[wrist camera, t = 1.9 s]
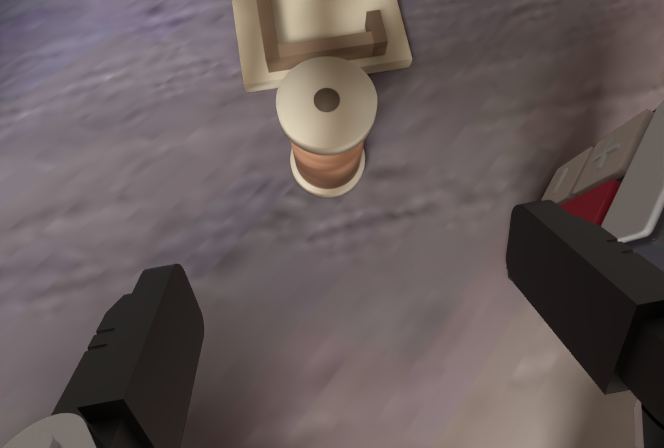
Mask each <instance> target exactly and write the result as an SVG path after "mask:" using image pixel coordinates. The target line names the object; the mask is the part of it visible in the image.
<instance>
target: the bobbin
mask: <svg viewBox="0 0 664 448" xmlns="http://www.w3.org/2000/svg"><path fill="white" fill-rule="evenodd" d="M276 108H277V113H278V117H279V121H280V124H281V127H282V129H283V131H284V133H285V135H286V136H287V137H288V138H289V140H290V141H291V145H292V150H291V156H290V162H291V168H292V172H293V175H294V178H295V180H296V181H297V183H298V184H299V186H300V187H301V188H302V189H303V190H305V191H306V192H308V193H309V194H311V195H313V196H316V197H320V198H336V197H340V196H342V195H345V194H346V193H348V192H350V191H351V190H352V189H353V188H354V187H355V186H356V185H357V184H358V182H359V181H360V179H361V177H362V174H363V170H364V166H365V152H364V149H363V144H364V139H365V138H366V137H367V135H368V134H369V132H370V131H371V128H372V126H373V123H374V120H375V115H376V110H377V93H376V90H375V87H374V85H373V82H372V81H371V79H370V78H369V76H368V75H367V74H366V73H365V72H364V71H363V70H362V69H361V68H360V67H358V66H357V65H356V64H354V63H352V62H350V61H348V60H345V59H342V58H338V57H328V56H324V57H316V58H312V59H309V60H306V61H304V62H301V63H300V64H298V65H296V66H295V67H294V68H292V69H291V70H290V71H289V72H288V73H287V74H286V75H285V77H284V78H283V80H282V81H281V83H280V85H279V88H278V91H277V96H276Z"/></svg>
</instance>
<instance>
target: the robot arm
mask: <svg viewBox="0 0 664 448" xmlns="http://www.w3.org/2000/svg"><path fill="white" fill-rule="evenodd" d="M506 264H507V269H508V273H509V275H510V277H511V279H512V281H513V282H514V284H515V285H516V286H517V287H518V289H519V290H520V291H521V292H522V294H523V295H524V296H525V297H526V298H527V300H528V301H529V302H530V303H531V305H532V306H533V307H534V308H535V309H536V311H537V312H538V313H539V314H540V316H541V317H542V318H543V319H544V321H545V322H546V323H547V324H548V325H549V327H550V328H551V329H552V330H553V332H554V333H555V334H556V335H557V336H558V338H559V339H560V340H561V341H562V343H563V344H564V345H565V346H566V348H567V349H568V350H569V351H570V352H571V354H572V355H573V356H574V357H575V359H576V360H577V361H578V362H579V363H580V365H581V366H582V367H583V368H584V370H585V371H586V372H587V373H588V375H589V376H590V377H591V378H592V379H593V381H594V382H595V383H596V384H597V386H598V387H599V388H600V389H601V390H602V392H603V393H604V394H605V395H606V394H611V393H616V392H621V391H626V390H630V391H631V392H632V393H633V394H634V395H635V396H636V397H637V398H638V399H637V401H636V404H635V406H634V429H635V448H664V272H663V271H662V270H661V269H659V268H658V267H656V266H655V265H654V264H652V263H651V262H650V261H648V260H647V259H645V258H644V257H643V256H641V255H640V254H638V253H634V252H633V249H631V248H630V247H629V246H627V245H626V244H625V243H623V242H622V241H620V242H619V241H618V238H616V237H615V236H613V235H612V234H611V233H609V232H608V231H607V230H605V229H604V228H602V227H601V226H600V225H597V224H595V223H592V222H590V221H587V220H585V219H582V218H580V217H577V216H572V215H571V214H570V213H568V212H567V211H566V210H564V209H563V208H562V207H560V206H559V205H558V204H556V203H555V202H554V201H552V200H543V201H537V202H531V203H525V204H520V205H516V206H515V207H514V208H513V210H512V214H511V222H510V230H509V238H508V246H507V254H506ZM96 332H97V335H94V336H93V338H92V340H91V342H90V344H89V346H88V351H86V352H85V353H84V355H83V357H82V359H81V361H80V362H79V364H78V366H77V368H76V370H75V372H74V374H73V376H72V377H71V379H70V381H69V383H68V385H67V387H66V389H65V390H64V392H63V394H62V396H61V398H60V400H59V402H58V403H57V405H56V407H55V409H54V411H53V413H52V415H51V416H49V417H46V418H44V419H42V420H39V421H37V422H35V423H34V424H32V425H30V426H28V427H27V428H25V429H24V430H23V431H21V432H20V433H18V434H17V435H16V436H15V437H14V438H12V439H11V440H10V441H9V442H8V443H7V444H6V445H5V446H4V447H3V448H180V445H181V440H182V435H183V431H184V426H185V421H186V417H187V412H188V408H189V403H190V398H191V394H192V389H193V384H194V380H195V375H196V370H197V366H198V361H199V356H200V352H201V347H202V342H203V337H204V322H203V317H202V313H201V310H200V308H199V305H198V303H197V300H196V298H195V296H194V293H193V291H192V288H191V286H190V283H189V281H188V278H187V276H186V274H185V271H184V269H183V268H182V266H181V265H180V264H173V265H167V266H162V267H156V268H150V269H145V270H144V271H143V272H142V274H141V276H140V278H139V280H138V282H137V284H136V286H135V288H134V290H133V292H132V294H127V295H123V296H122V297H121V298H120V299H119V300H118V301H117V302H116V303H115V304H114V305H113V306H112V307H111V308H110V309H109V310H108V311H107V312H106V314H105V316H104V318H103V320H102V321H101V323H100V325H99V327H98V329H97V331H96Z"/></svg>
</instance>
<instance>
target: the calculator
mask: <svg viewBox="0 0 664 448" xmlns="http://www.w3.org/2000/svg"><path fill="white" fill-rule="evenodd" d="M543 200H552V201H554V202H555V203H556V204H558V205H559V206H560V207H562V208H563V209H564V210H566V211H567V212H568V213H570V214H571V215H572V216H577V217H580V218H582V219H585V220H587V221H590V222H592V223H595V224H597V225H600V226H601V227H602V228H604V229H605V230H607V231H608V232H609V233H611V234H612V235H613V236H615V237H616V238H618V241H619V242H620V241H622V242H623V243H625V244H626V245H627V246H629V247H630V248H631V249H633V252H634V253H638V254H640V255H641V256H643V257H644V258H645V259H647V260H648V261H650V262H651V263H652V264H654V265H655V266H656V267H658V268H659V269H661V270H662V271H663V272H664V101H663V102H662V103H661V104H660V105H659V106H658V108H657V109H655V110H654V111H650V110H648V109H646V110H645V111H643V112H641V113H640V114H638V115H637V116H636V117H634V118H633V119H631V120H630V121H628V122H627V123H625V124H624V125H622V126H621V127H619V128H618V129H616V130H615V131H613V132H612V133H610V134H609V135H607V136H606V137H604V138H603V139H601V140H600V141H599V142H598V143H597V145H596V146H595V148H594V147H589V148H588V149H586V150H585V151H583V152H582V153H580V154H579V155H577V156H576V157H574V158H573V159H572V160H570V161H569V162H567V163H566V164H564V165H563V166H561V167H560V168H558V169H557V171H556V172H555V174H554V176H553V178H552V180H551V182H550V184H549V186H548V188H547V190H546V192H545V193H544V195H543V197H542V199H541V201H543ZM506 268H507V267H506ZM508 278H509V279H510V280H512V279H511V277H510V275H508Z"/></svg>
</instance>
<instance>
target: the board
mask: <svg viewBox="0 0 664 448" xmlns="http://www.w3.org/2000/svg"><path fill="white" fill-rule="evenodd" d="M232 4H233V11H234V18H235V25H236V32H237V39H238V47H239V54H240V61H241V68H242V75H243V82H244V87H245V89H246V92H254V91H260V90H267V89H273V88H279V85H280V83H281V81H282V80H283V78H284V77H285V75H286V74H287V73H288V72H289V71H290V70H291V69H292V68H294V67H295V66H296V65H298V64H300V63H301V62H304V61H306V60H309V59H312V58H316V57H324V56H328V57H338V58H342V59H345V60H348V61H350V62H352V63H354V64H356V65H357V66H358V67H360V68H361V69H362V70H363V71H364V72H365V73H366V74H370V73H376V72H383V71H389V70H396V69H402V68H409V67H410V65H411V62H412V56H411V52H410V48H409V44H408V40H407V36H406V33H405V29H404V25H403V21H402V17H401V13H400V9H399V6H398V2H397V0H232Z"/></svg>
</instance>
